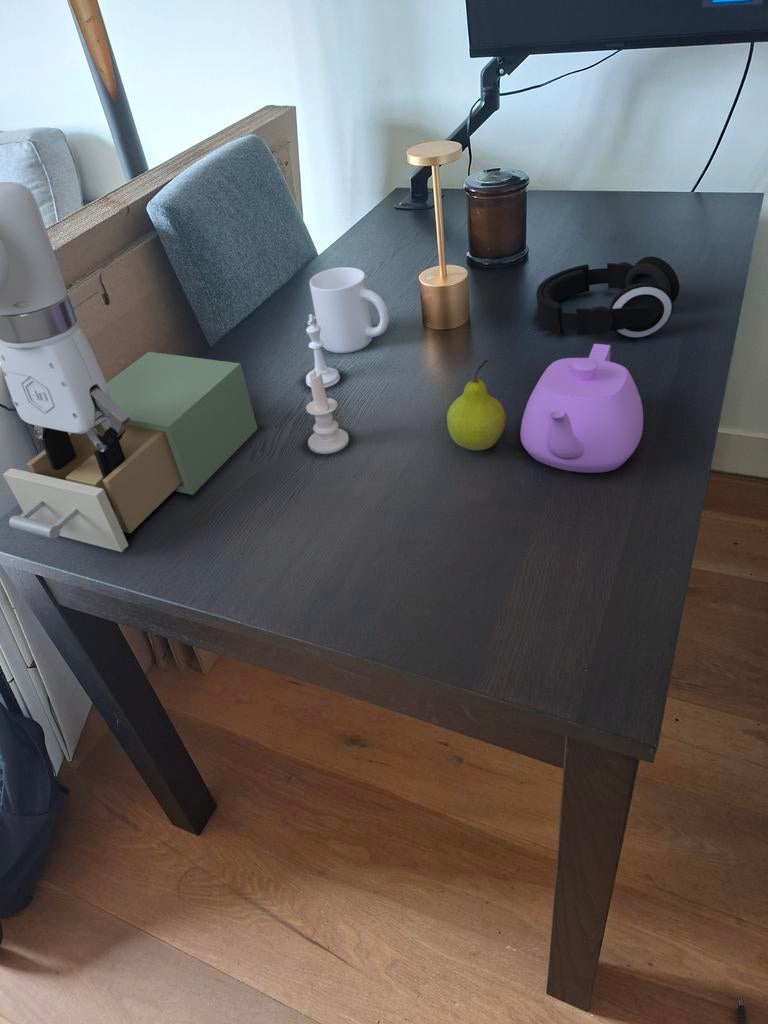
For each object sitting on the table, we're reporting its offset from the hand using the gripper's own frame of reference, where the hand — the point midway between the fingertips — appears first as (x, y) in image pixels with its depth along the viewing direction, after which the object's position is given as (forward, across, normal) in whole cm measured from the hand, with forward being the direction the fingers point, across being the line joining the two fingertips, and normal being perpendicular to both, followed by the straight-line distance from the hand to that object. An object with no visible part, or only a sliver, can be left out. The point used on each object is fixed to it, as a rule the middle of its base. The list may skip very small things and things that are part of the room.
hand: (90, 468), depth 85 cm
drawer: (+6, 0, -1) cm, 6 cm away
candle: (+6, +18, +21) cm, 29 cm away
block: (+5, 0, +1) cm, 5 cm away
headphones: (+3, +44, +62) cm, 76 cm away
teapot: (+5, +48, +28) cm, 56 cm away
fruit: (+5, +37, +26) cm, 45 cm away
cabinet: (+6, 0, +14) cm, 15 cm away
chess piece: (+5, +10, +35) cm, 37 cm away
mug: (+4, +10, +47) cm, 48 cm away
